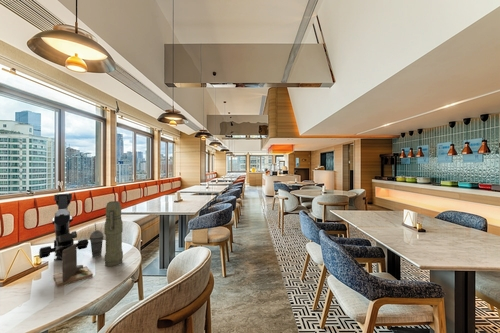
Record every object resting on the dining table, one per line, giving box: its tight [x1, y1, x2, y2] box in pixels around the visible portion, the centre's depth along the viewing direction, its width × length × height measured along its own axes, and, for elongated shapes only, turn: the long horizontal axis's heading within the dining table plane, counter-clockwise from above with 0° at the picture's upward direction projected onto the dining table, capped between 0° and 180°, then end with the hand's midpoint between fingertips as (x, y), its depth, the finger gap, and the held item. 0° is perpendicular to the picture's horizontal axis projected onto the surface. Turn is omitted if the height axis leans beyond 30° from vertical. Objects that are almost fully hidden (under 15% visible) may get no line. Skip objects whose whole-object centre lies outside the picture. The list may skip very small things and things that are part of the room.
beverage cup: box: [89, 223, 105, 258], centre depth 140 cm, size 7×7×20 cm
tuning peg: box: [61, 243, 88, 281], centre depth 112 cm, size 9×13×14 cm
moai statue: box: [103, 200, 124, 268], centre depth 129 cm, size 9×12×35 cm
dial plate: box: [53, 266, 94, 288], centre depth 112 cm, size 13×14×2 cm
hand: (67, 263), depth 110 cm, fingers closed
